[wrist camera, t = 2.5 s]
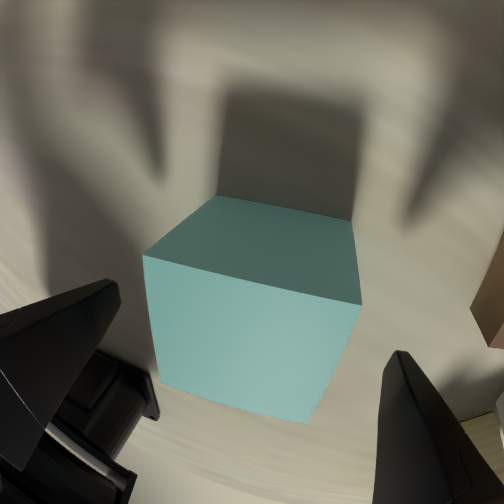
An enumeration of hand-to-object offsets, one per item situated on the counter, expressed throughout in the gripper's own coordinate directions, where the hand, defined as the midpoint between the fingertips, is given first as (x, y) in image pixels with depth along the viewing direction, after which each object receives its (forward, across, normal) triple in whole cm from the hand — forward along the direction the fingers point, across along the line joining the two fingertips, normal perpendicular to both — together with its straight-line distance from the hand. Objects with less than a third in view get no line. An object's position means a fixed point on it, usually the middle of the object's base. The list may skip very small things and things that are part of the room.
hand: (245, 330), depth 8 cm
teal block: (+4, 0, 0) cm, 4 cm away
